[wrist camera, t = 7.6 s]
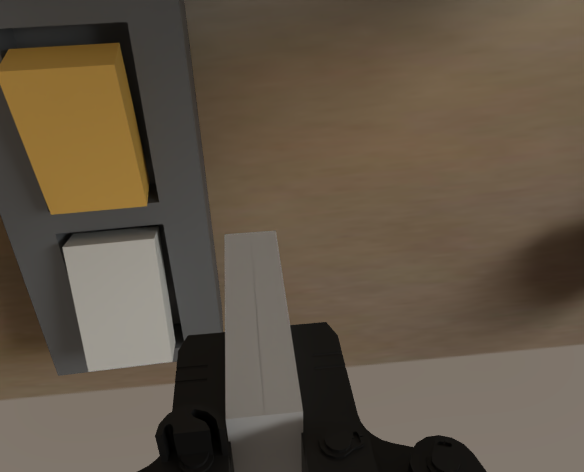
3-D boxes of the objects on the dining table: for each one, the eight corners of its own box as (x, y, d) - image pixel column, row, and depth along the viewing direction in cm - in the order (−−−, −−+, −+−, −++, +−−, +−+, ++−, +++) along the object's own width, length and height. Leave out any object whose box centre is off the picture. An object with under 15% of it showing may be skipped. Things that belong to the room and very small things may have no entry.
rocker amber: (8, 49, 25) (-5, 72, 23) (119, 42, 26) (114, 64, 24) (58, 187, 30) (50, 214, 29) (149, 179, 31) (147, 206, 29)
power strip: (-174, -453, 20) (-273, -546, 16) (129, -443, 21) (111, -527, 17) (73, 325, 40) (58, 375, 36) (222, 309, 41) (224, 355, 37)
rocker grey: (73, 233, 32) (62, 247, 30) (158, 225, 33) (154, 238, 31) (96, 351, 35) (88, 371, 33) (175, 342, 35) (172, 361, 33)
